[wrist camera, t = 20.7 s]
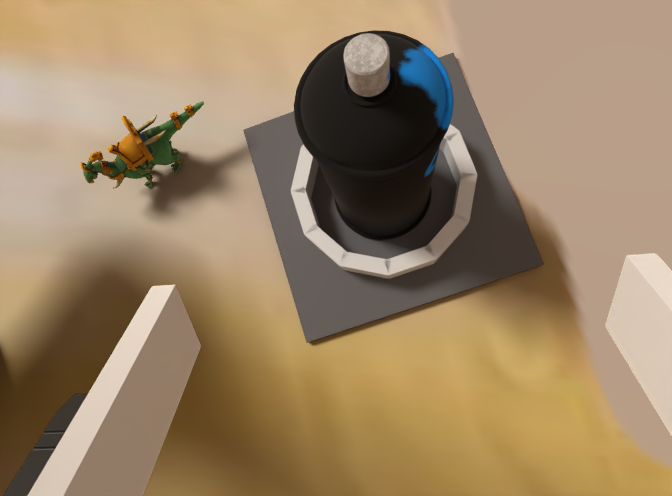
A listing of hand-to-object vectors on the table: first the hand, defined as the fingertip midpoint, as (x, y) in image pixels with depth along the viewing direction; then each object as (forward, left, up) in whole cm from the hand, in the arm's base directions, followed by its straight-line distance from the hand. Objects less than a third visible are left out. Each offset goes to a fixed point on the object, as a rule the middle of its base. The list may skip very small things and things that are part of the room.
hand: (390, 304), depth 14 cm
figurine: (+8, +24, -24) cm, 35 cm away
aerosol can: (+10, +4, -23) cm, 26 cm away
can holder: (+10, +4, -24) cm, 26 cm away
